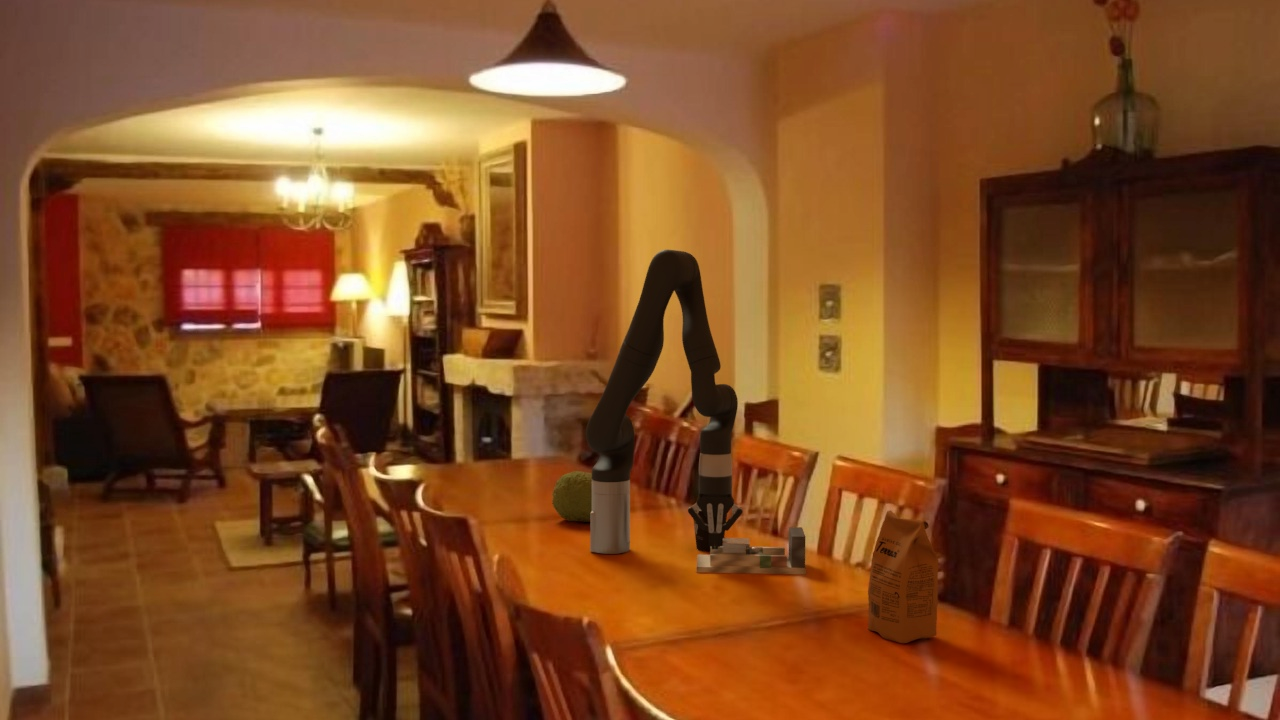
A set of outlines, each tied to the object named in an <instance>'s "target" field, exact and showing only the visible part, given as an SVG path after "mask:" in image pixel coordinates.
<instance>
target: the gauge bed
mask: <svg viewBox="0 0 1280 720" xmlns="http://www.w3.org/2000/svg"><path fill="white" fill-rule="evenodd" d="M762 547H763V554H750V555H746V554H723V546H720V547H718V549H712V547H710V552H709V553H710V554H697V555H696V573H716V574H718V573H719V574H720V573H721V574H723V573H724V574H760V575H761V574H765V575H767V574H770V575H771V574H773V575H774V574H775V575H806V534H805V531H804V528H803V527H802V526H801V527H800V526H797V527H796V526H794V527H793V526H792V527H791V526H789V527H788V555H787V554H785V551H786V549H785V548H786V547H785V546H762Z"/></svg>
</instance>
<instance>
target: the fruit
mask: <svg viewBox="0 0 1280 720" xmlns="http://www.w3.org/2000/svg"><path fill="white" fill-rule="evenodd" d="M551 495H552V500H551V501H552V503H551V504H552V507H553V508H554V509H555V511H556V512H557V514H558V515H559V516H560V517H561V518H562V519H564V520H566V521H568V522H584V523H587V522H590V513H591V511H592V472H586V471H580V470H575V471H572V472H568V473H565V474H563V475H561V477H559V478H558V479H557V481H556V482H555V485H554V488H553V490H552V494H551Z"/></svg>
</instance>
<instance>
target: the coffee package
mask: <svg viewBox="0 0 1280 720" xmlns="http://www.w3.org/2000/svg"><path fill="white" fill-rule="evenodd" d="M929 526H930V525H929V523H928V522H927V521H926V520H920V519H911V518H910V519H909V518H900V517H899V516H898V515H897V514H896V513H894V512H893V511H892V510H887V511H886V514H885V516H884V519H883V522H882V524H881V527H880V531H879V533H878V537H877V538H876V542H875V546H874V548H873V552H872V556H871V557H872V558H871V565H870V573H869V580H868V581H869V582H868V589H867V595H868V598H867V599H868V626H867V628H868V630H869V631H872V632H877V633H878V634H879V635H880V636H881V638H883V639H885V640H888V641H892V642H896V643H899V644H908V643H910V642H913V641H916V640H918V639H919V640H920V639H928V638H929V639H930V638H932V637H934V636H937V633H938V632H937V628H938V627H937V623H938V622H937V621H938V604H939V602H938V590H939V578H938V577H939V558H938V556H937V553H936V552H935V549H934V547H933V544H932V543H931V540H930V539H929V536H928V534H927V532H926V530H927V529H928V528H929Z"/></svg>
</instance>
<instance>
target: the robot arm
mask: <svg viewBox="0 0 1280 720" xmlns="http://www.w3.org/2000/svg"><path fill="white" fill-rule="evenodd" d="M695 257H696V256H694V255H692V254H691V253H689V252H687V251H683V250H675V249H663V250H660V251H659V252H657V253H656V254H655V255H654V256H653V257H652V259H651V261H650V263H649V265H648V268H647V272H646V275H645V279H644V282H643V286H642V290H641V294H640V296H639V301H638V302H637V306H636V309H635V311H634V314H633V316H632V320H631V321H630V325H629V327H628V330H627V332H626V333H625V336H624V339H623V342H622V344H621V346H620V347H619V348H620V349H619V352H618V354H617V357H616V360H615V363H614V365H613V367H612V370H611V373H610V375H609V377H608V379H607V380H608V381H607V383H606V385H605V389H604V391H603V393H602V395H601V397H600V399H599V401H598V402H597V405H596V407H595V409H594V410H593V413H592V414H591V416H590V418H589V420H588V421H587V422H588V423H587V425H586V428H585V440H586V443H587V445H588V446H589V448H590V449H591V450H592V451H594V452H596V453H599V457H598V459H597V462H596V463H595V464H594V466H593V467H592V468H591V473H592V511H591V513H590V521H589V522H590V524H589V525H590V527H589V530H590V533H589V534H590V537H589V539H590V540H589V542H590V546H589V547H590V548H589V549H590V550H589V551H590V553H597V554H603V555H604V554H605V555H606V554H607V555H614V554H623V553H627V552H629V551H630V550H631V549H630V547H631V545H630V544H631V480H630V479H631V471H632V469H633V465H634V458H635V457H634V453H635V427H634V424H633V422H632V420H631V418H630V417H629V416H628V415H627V412H628V409H629V407H630V404H631V403H632V402H633V400H634V399H635V398H636V396H637V395H638V394H639V393H640V391H641V390H642V389H643V387H644V386H645V385H646V384H647V383H648V380H649V379H650V378H651V376H652V375H653V373H654V371H655V368H656V366H657V364H658V362H659V359H660V356H661V354H662V351H663V348H664V341H665V336H664V335H665V329H664V318H665V313H666V310H667V307H668V304H669V302H670V300H671V298H672V295H673V294H674V293H675V295H676V297H677V299H678V301H679V302H678V303H679V305H680V308H681V313H682V314H681V315H682V331H681V332H682V333H681V338H682V340H681V341H682V347H683V351H684V355H685V357H686V361H687V364H688V367H689V370H690V385H691V386H690V387H691V397H692V402H693V403H692V404H693V405H694V407H695V409H696V411H697V412H698V413H699V414H700V415H701V416H703V417H706V418H709V423H708V424H707V425H706V426H704V427H703V428H702V429H701V431H700V435H699V458H698V459H699V461H698V497H697V498H696V502H695V503H694V504H693V505H690V506H689V507H688V508H687V512H688V514H689V515H690V516H691V518H692V520H693V519H694V520H695V522H696V523H697V524H698V525H699V527H700V528H701V529H702V530H705V531H707V532H708V533H709V547H712V549H718V547H720V546H721V533H722V532H723V531H725V532H726V531H727V532H728V531H729V530H730V529H731V528H732V526H733V525H734V524H735V523H736V522H737V520H738V519H739V518H740V517H741V515H742V514H743V508H742V507H741V506H739V505H737V504H735V499H734V498H733V459H732V433H733V429H734V426H735V421H736V419H737V418H736V417H737V412H738V405H739V403H738V402H739V401H738V396H737V393H736V391H735V389H734V388H733V387H732V386H731V385H729V384H725V383H720V384H716V379H715V374H717V373H718V372H719V371H721V366H722V365H721V361H720V357H719V354H718V352H717V348H716V343H715V342H714V338H713V335H712V331H711V328H710V324H709V319H708V315H707V307H706V302H705V296H704V290H703V282H702V275H701V269H700V265H699V263H698V261H697V259H696V258H695ZM698 507H699V508H700V509H701V511H702V512H703V513H704V515H705V516H706V517H708V525H707V524H705V522H704V521H703V520H702V518H701V517H700V516H699V515H698V513H699V510H698ZM730 510H731V514H732V515H730V516H729V518H728V519H727V520H726V523H725V524H723V525H722V519H723V517H724V516H726V514H727V515H728V513H729V512H730ZM713 517H717V525H716V532H714V519H713ZM694 520H693V521H694Z"/></svg>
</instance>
